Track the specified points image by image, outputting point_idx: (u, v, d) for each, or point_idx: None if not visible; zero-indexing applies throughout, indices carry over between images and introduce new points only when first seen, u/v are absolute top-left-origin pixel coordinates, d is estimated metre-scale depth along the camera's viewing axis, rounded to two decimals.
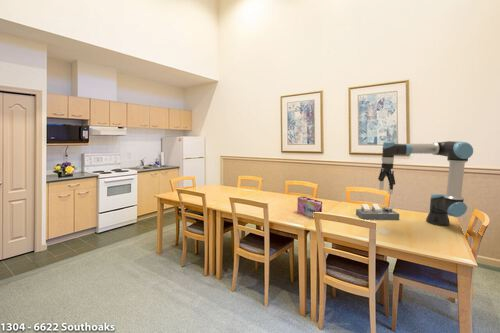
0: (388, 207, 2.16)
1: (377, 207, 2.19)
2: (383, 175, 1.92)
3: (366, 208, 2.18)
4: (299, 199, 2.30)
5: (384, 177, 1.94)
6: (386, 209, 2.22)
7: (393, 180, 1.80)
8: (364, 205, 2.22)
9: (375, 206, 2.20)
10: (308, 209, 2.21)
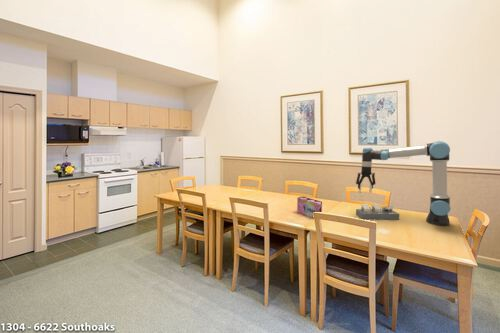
0: (388, 207, 2.16)
1: (377, 207, 2.19)
2: (368, 177, 2.21)
3: (366, 208, 2.18)
4: (299, 199, 2.30)
5: (370, 180, 2.20)
6: (386, 209, 2.22)
7: (357, 180, 2.21)
8: (364, 205, 2.22)
9: (375, 206, 2.20)
10: (308, 209, 2.21)
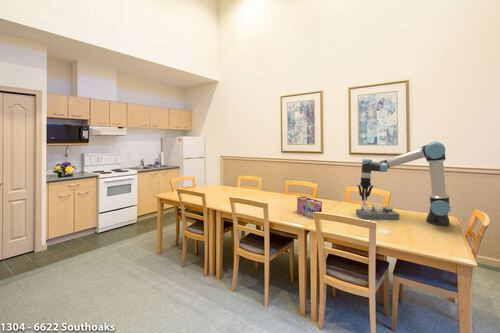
0: (388, 207, 2.16)
1: (377, 207, 2.19)
2: (365, 188, 2.23)
3: (366, 208, 2.18)
4: (299, 199, 2.31)
5: (366, 191, 2.22)
6: (386, 209, 2.22)
7: (360, 193, 2.22)
8: (364, 205, 2.22)
9: (375, 206, 2.20)
10: (308, 209, 2.22)
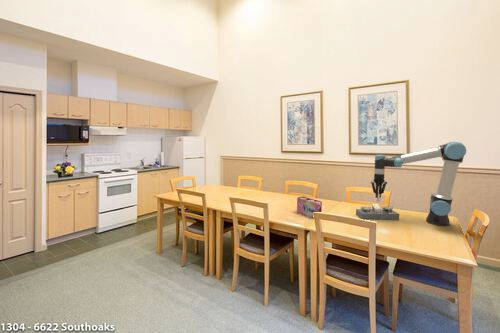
0: (388, 207, 2.16)
1: (377, 207, 2.19)
2: None
3: None
4: (299, 199, 2.31)
5: (379, 188, 2.14)
6: (386, 209, 2.22)
7: (373, 190, 2.15)
8: None
9: (375, 206, 2.20)
10: (308, 209, 2.22)
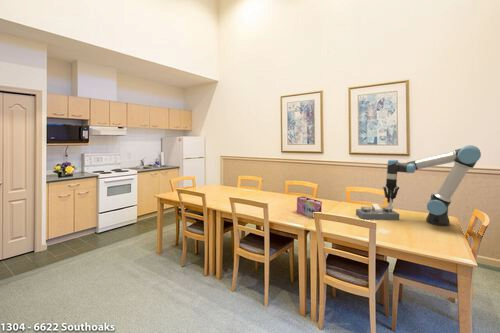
0: (388, 207, 2.16)
1: (377, 207, 2.19)
2: None
3: None
4: (298, 199, 2.31)
5: (392, 193, 2.14)
6: (386, 209, 2.22)
7: (385, 195, 2.14)
8: None
9: (375, 206, 2.20)
10: (308, 209, 2.22)
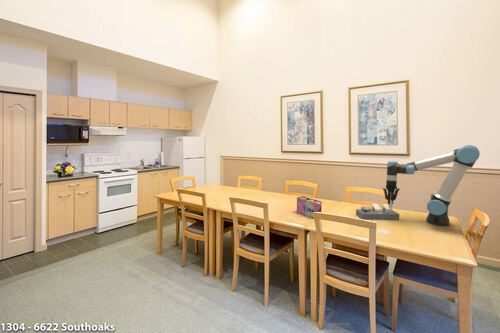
0: (388, 211, 2.16)
1: (377, 207, 2.19)
2: (391, 192, 2.15)
3: None
4: (298, 199, 2.31)
5: (392, 195, 2.14)
6: None
7: (385, 196, 2.15)
8: None
9: (375, 206, 2.20)
10: (308, 209, 2.22)
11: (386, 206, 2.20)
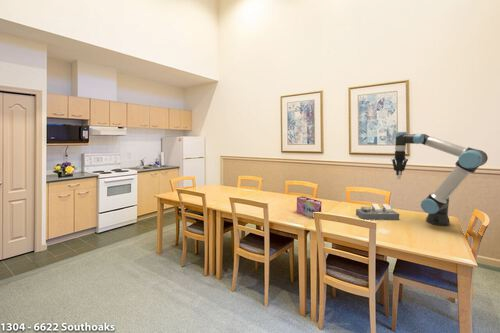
0: (388, 211, 2.16)
1: (377, 207, 2.19)
2: None
3: None
4: (298, 199, 2.31)
5: (400, 166, 2.13)
6: None
7: (394, 167, 2.14)
8: None
9: (375, 206, 2.20)
10: (308, 209, 2.22)
11: (386, 206, 2.20)
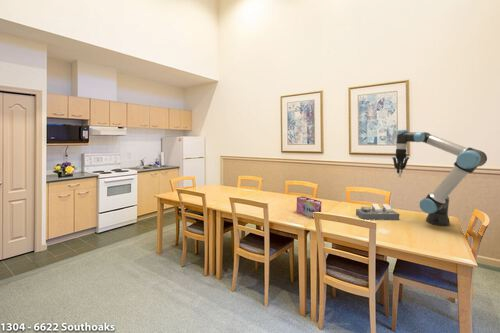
0: (388, 211, 2.16)
1: (377, 207, 2.19)
2: (400, 161, 2.15)
3: None
4: (298, 199, 2.31)
5: (401, 164, 2.14)
6: None
7: (395, 165, 2.15)
8: None
9: (375, 206, 2.20)
10: (307, 209, 2.22)
11: (386, 206, 2.20)
